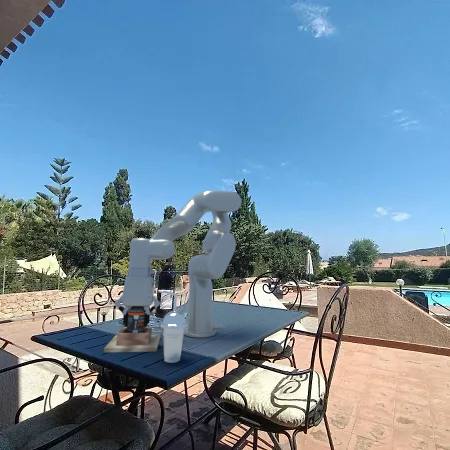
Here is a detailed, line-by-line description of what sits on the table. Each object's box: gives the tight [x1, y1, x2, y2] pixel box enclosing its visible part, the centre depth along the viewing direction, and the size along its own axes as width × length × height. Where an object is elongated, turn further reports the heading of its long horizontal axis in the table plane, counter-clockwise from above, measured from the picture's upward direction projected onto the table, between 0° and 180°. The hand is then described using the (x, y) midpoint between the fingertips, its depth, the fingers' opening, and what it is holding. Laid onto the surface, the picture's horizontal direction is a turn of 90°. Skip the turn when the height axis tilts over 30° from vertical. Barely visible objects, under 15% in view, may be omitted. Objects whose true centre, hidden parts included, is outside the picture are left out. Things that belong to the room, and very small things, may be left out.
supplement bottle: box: [127, 306, 146, 333], centre depth 96 cm, size 6×6×11 cm
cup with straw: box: [157, 289, 188, 363], centre depth 83 cm, size 8×9×20 cm
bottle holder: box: [103, 326, 161, 354], centre depth 95 cm, size 16×16×5 cm
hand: (136, 325), depth 96 cm, fingers closed on supplement bottle, 5 cm apart
